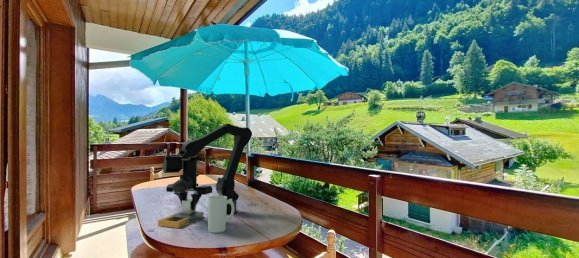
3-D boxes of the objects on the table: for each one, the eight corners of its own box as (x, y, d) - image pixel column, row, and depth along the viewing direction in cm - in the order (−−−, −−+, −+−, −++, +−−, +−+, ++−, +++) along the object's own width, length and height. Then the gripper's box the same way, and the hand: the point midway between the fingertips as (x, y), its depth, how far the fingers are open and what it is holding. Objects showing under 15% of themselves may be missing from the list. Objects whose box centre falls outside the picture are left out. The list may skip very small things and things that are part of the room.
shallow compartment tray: (203, 216, 132) (203, 212, 132) (178, 228, 115) (178, 222, 115) (185, 214, 134) (185, 210, 134) (157, 225, 118) (158, 220, 118)
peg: (195, 216, 130) (196, 199, 130) (189, 218, 126) (190, 201, 127) (187, 215, 131) (187, 198, 132) (181, 217, 128) (181, 200, 128)
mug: (210, 234, 109) (211, 200, 109) (204, 229, 115) (205, 196, 115) (237, 230, 115) (238, 197, 115) (230, 225, 120) (231, 194, 120)
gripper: (157, 172, 124) (156, 212, 124) (198, 175, 119) (197, 216, 119) (175, 170, 135) (174, 206, 135) (213, 172, 130) (212, 209, 129)
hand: (188, 209), depth 129 cm, fingers closed on peg, 4 cm apart
